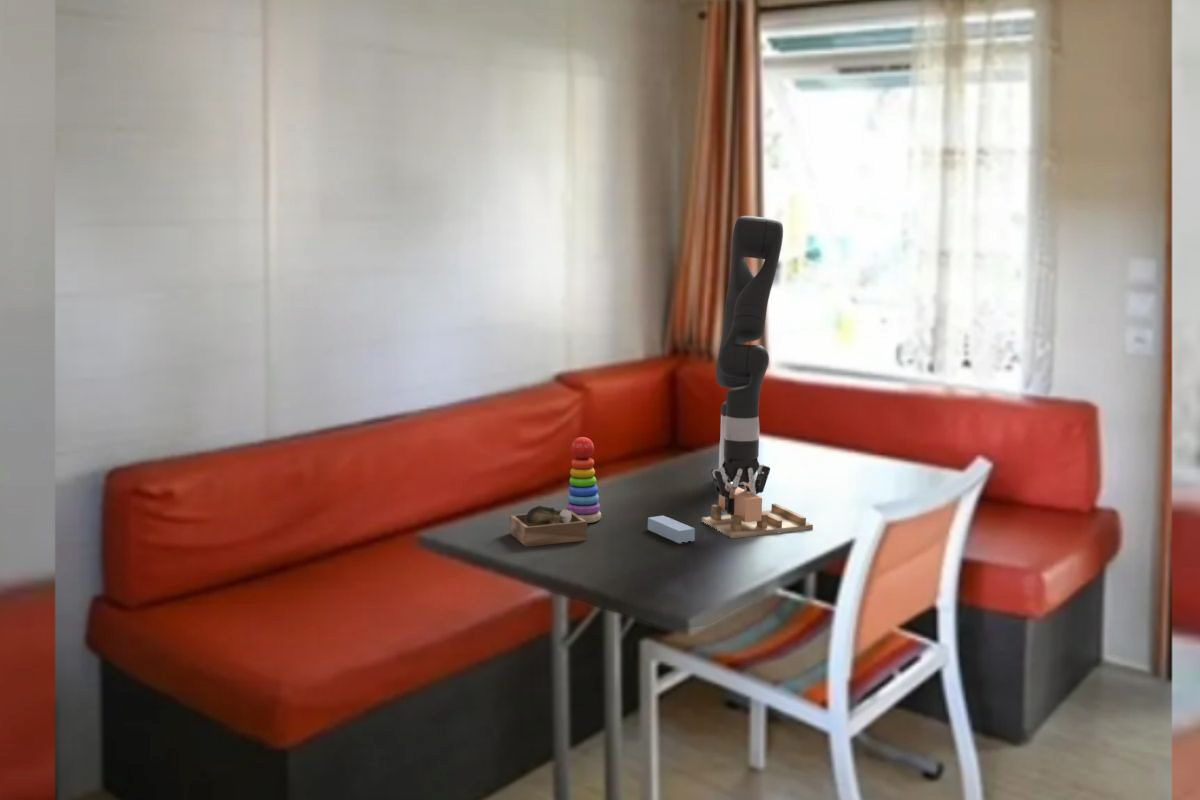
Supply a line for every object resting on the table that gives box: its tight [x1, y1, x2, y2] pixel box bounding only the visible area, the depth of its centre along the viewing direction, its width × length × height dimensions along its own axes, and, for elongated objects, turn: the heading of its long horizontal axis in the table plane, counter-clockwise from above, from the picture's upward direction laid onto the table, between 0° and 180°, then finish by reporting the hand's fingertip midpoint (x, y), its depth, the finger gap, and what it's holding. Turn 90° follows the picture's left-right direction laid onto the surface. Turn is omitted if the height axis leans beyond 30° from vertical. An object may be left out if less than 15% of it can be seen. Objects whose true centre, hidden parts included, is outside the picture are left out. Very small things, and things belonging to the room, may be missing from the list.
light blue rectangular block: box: [647, 515, 696, 544], centre depth 256 cm, size 12×4×3 cm, turn 31°
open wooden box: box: [509, 509, 588, 548], centre depth 254 cm, size 11×14×4 cm
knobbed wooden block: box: [718, 482, 763, 522], centre depth 261 cm, size 12×4×6 cm, turn 22°
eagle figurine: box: [525, 505, 572, 525], centre depth 253 cm, size 8×7×9 cm
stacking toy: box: [566, 436, 602, 524], centre depth 266 cm, size 8×8×19 cm
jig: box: [701, 503, 814, 539], centre depth 264 cm, size 14×20×4 cm
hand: (739, 512), depth 262 cm, fingers closed on knobbed wooden block, 4 cm apart
